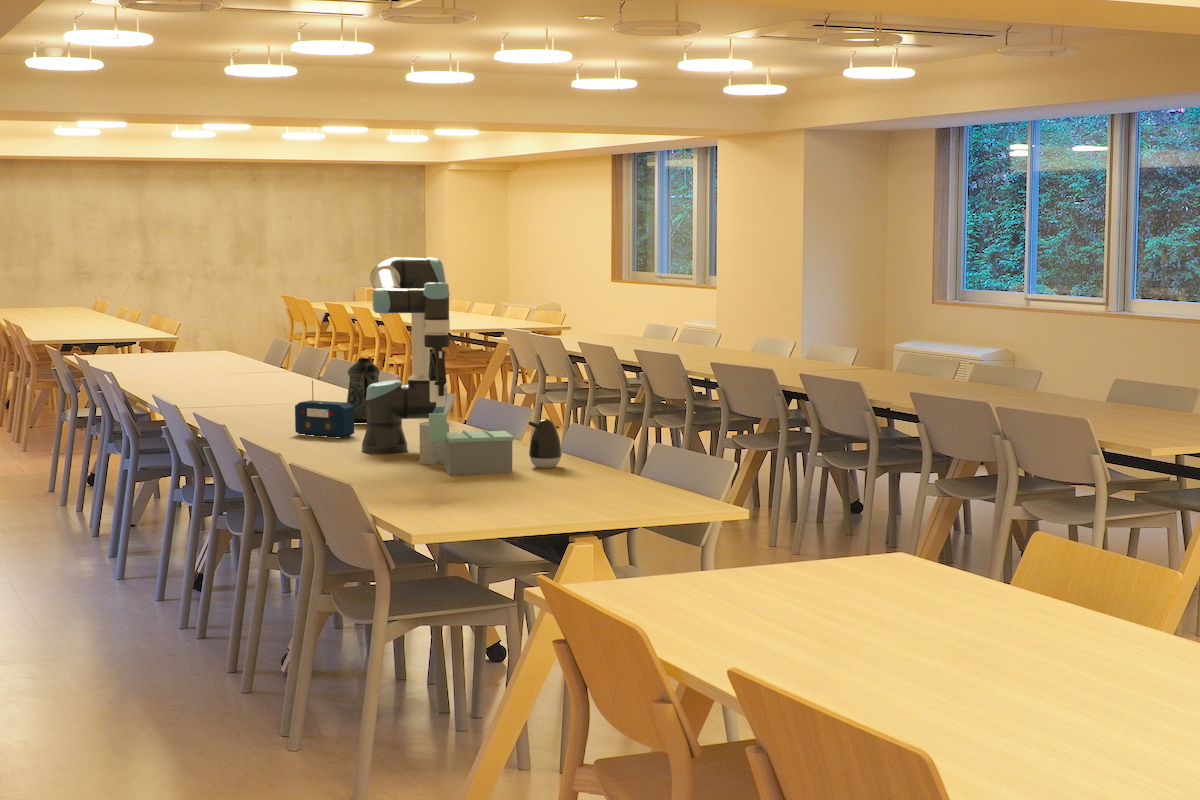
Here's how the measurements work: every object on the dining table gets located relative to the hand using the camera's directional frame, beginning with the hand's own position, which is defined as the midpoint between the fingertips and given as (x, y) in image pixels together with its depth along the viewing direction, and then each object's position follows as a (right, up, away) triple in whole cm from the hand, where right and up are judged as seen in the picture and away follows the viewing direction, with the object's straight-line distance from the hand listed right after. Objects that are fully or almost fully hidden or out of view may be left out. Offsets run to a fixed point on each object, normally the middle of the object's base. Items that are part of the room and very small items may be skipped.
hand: (437, 404), depth 388 cm
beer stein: (-42, -8, +115) cm, 123 cm away
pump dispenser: (+32, -20, +14) cm, 40 cm away
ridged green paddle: (+9, -10, +4) cm, 15 cm away
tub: (+12, -20, +6) cm, 24 cm away
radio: (-51, -12, +78) cm, 94 cm away
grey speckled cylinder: (-4, -19, +22) cm, 29 cm away
